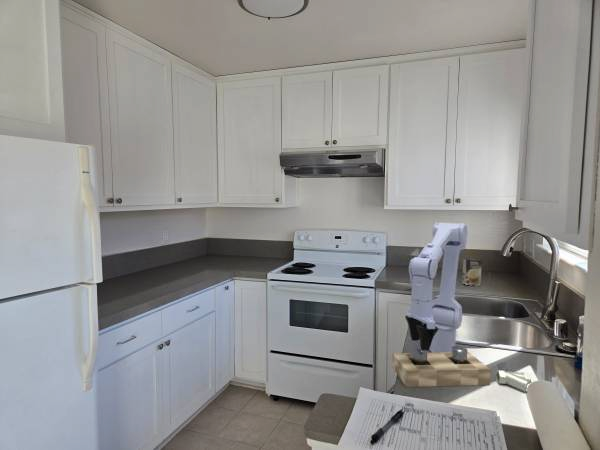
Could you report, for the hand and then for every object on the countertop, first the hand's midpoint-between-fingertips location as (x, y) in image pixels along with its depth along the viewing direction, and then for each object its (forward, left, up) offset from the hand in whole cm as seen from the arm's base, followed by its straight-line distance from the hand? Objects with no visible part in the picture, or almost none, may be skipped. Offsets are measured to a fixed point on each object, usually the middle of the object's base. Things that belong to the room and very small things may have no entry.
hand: (420, 344), depth 108 cm
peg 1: (0, 0, -6) cm, 6 cm away
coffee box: (-114, +79, -10) cm, 139 cm away
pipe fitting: (+7, +24, -10) cm, 27 cm away
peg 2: (0, +12, -6) cm, 13 cm away
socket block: (0, +6, -9) cm, 11 cm away
